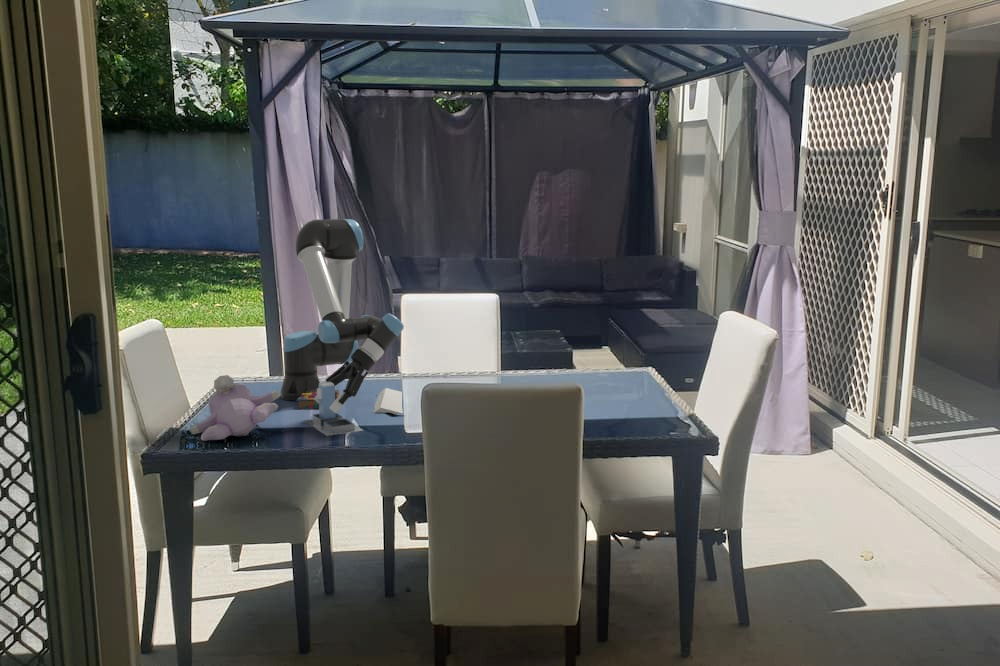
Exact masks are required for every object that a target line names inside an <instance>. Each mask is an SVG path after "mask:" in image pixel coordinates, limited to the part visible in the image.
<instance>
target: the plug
mask: <svg viewBox="0 0 1000 666" xmlns="http://www.w3.org/2000/svg"><path fill="white" fill-rule="evenodd" d="M335 390H336V386H334V384H333V383H331V382H326V381H323V382H320V383H319V385H318V388H317V398H319V408H318V414H319V418H321V419H326V418H333V417H336V413H334V412H333V411H332V410H331V409H330V408H329V407H330V406H331V405H332V404H333V402H334V401H335Z"/></svg>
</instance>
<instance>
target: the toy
mask: <svg viewBox="0 0 1000 666" xmlns="http://www.w3.org/2000/svg"><path fill="white" fill-rule="evenodd" d="M213 388H214V389H215V390H216V392H213V394H212V395H211V396H210V398H209V400H208V401H207V402H208V408H209V413H210V415H209V416H208V417H207V418H206V419H205V420H202V421H201V422H199V423H197V424H195V425H193V426H191V427H189V429H188V430H189V432H190V433H191V435H192V434H193V435H197V434H200V433H201V436H200V440H201V441H203V442H204V441H217V440H225V439H226V438H228V437H229V436H231V437H245V436H248V434H250V433H251V432H252V430H254V428H255V427H256V425H257V424H258V423H263V422H265V421H266V420H267V419H268V418H269V417H270V416H271V415H272V414H273V413H274V412H276V410H277V409H278V408H279V405H278V404H277V403H275V402H274V401H275V400H276V401H277V399H279V398H281V397H280V392H279V391H278V390H274V391H271V392H269V393H266V394H262V395H253V393H252V392H251V391H250V389H249V388H248V387H247V385H245V384H238V383H235V384H234V379H233V378H232V377H231V376H230V375H228V374H227V375H218V377H217V378H215V379H214V380H213Z"/></svg>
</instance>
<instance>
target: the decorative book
mask: <svg viewBox="0 0 1000 666" xmlns="http://www.w3.org/2000/svg"><path fill="white" fill-rule="evenodd" d="M339 395H340V394H339V390H338V389H335V400H336V399H337V398H338V396H339ZM316 396H317V389H308V390H307V391H306V392H305V393H303V394H302V396H301V397H299V398H298V399H297V401H296V402H298V408H297V409H296V410H303V409H306V410H307V409H309V410H312V409H319V403H317V402H316V401H315V400H314V398H315V397H316Z"/></svg>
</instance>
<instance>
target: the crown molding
mask: <svg viewBox="0 0 1000 666" xmlns="http://www.w3.org/2000/svg"><path fill="white" fill-rule="evenodd" d="M402 392H403V391H400V390H396V389H392V388H388V387H385V388H383V389H382V390H381V391H380V392H379V393H380V394H379V393H378V394H379V396H378V399H377V401H376V403H375V406H374V410H373V414H374V413H375V414H377V413H378V414H379V413H380V414H381V413H383V414H385V413H390V414H393V415H395V414H401V413H403V411H402V410H403V409H402Z"/></svg>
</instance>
